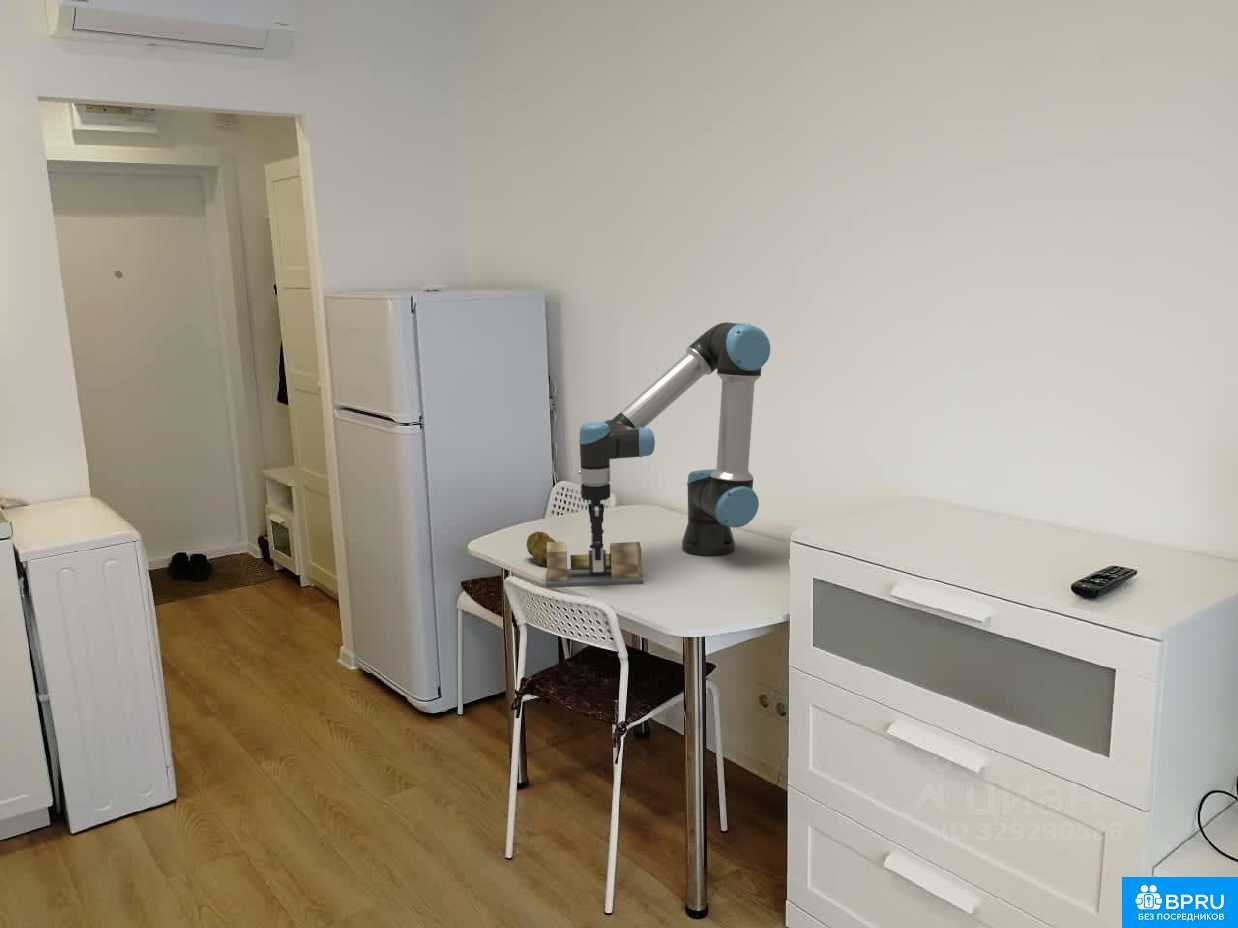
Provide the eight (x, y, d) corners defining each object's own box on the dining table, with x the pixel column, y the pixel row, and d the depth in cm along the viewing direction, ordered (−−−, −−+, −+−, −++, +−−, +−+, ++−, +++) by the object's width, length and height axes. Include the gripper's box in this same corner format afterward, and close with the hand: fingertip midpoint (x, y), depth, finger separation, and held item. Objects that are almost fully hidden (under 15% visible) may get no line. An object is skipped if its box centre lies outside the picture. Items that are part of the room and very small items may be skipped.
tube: (635, 567, 258) (634, 548, 257) (636, 572, 254) (636, 553, 253) (570, 569, 257) (570, 550, 256) (570, 574, 253) (570, 555, 252)
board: (640, 569, 262) (639, 566, 262) (643, 583, 250) (643, 580, 250) (546, 573, 261) (546, 569, 261) (545, 587, 249) (545, 583, 249)
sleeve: (639, 569, 259) (639, 541, 258) (641, 577, 252) (641, 549, 251) (610, 570, 259) (609, 542, 258) (611, 578, 252) (611, 550, 251)
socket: (567, 570, 259) (566, 541, 258) (567, 580, 251) (566, 551, 249) (548, 571, 259) (547, 542, 258) (547, 581, 250) (546, 551, 249)
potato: (534, 570, 263) (532, 541, 262) (525, 557, 276) (523, 530, 274) (564, 567, 266) (563, 539, 264) (553, 554, 278) (552, 527, 276)
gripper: (580, 474, 262) (582, 552, 266) (581, 493, 239) (583, 579, 243) (608, 473, 263) (610, 551, 267) (612, 492, 239) (613, 578, 243)
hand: (597, 564), depth 255 cm, fingers open, 11 cm apart
